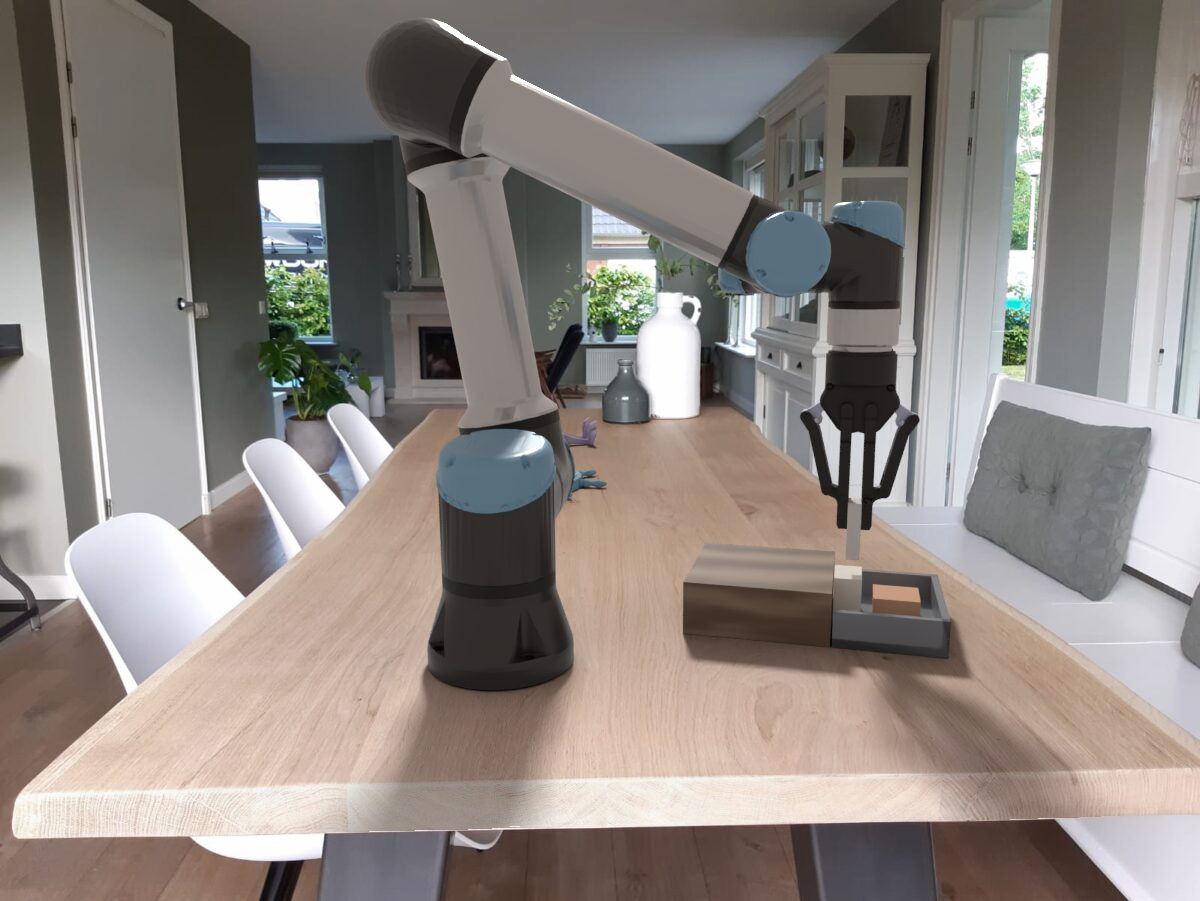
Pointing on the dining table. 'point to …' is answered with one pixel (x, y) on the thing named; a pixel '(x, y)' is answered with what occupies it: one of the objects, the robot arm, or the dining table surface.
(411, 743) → the dining table surface
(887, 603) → the orange square block
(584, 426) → the toy
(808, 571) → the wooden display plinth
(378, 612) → the dining table surface
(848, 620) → the box
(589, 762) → the dining table surface
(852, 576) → the off-white block
